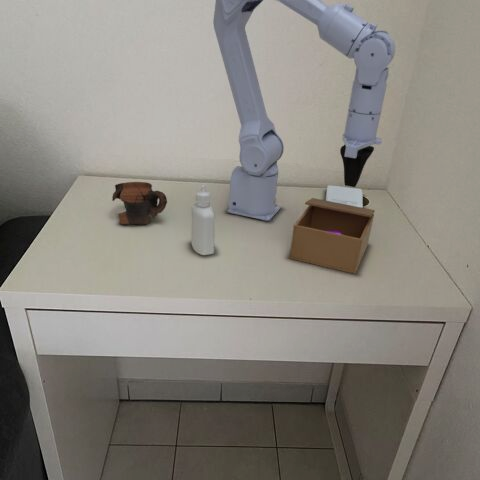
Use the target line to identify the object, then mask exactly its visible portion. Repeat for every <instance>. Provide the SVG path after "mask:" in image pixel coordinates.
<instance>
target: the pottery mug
mask: <svg viewBox="0 0 480 480" xmlns="http://www.w3.org/2000/svg"><path fill="white" fill-rule="evenodd" d="M114 188H115V190H114V191H113V194H112V197H111V198H112V199H111V201H112V202H114V201H115V200H116V199H119V200H120V201H121V202H123V205H124V209H125V211H123V212H118V214H117V216H118V220H119V224H120V225H132V224H133V225H149V224H150V221H149V220H150V216H151V217H152V218H153V219H155V218H156V217H157V216H158V214H161V213H162V212H164V210H165V209H166V207H167V204H168V199H167V196H166V194H165V193H164V192H163V191H160V190H153V185H152V184H151V183H150V182H146V181H128V182H127V181H126V182H121V183H117V184H115V185H114Z"/></svg>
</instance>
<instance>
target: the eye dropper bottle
mask: <svg viewBox="0 0 480 480" xmlns="http://www.w3.org/2000/svg"><path fill="white" fill-rule="evenodd" d="M190 216H191V221H190V223H191V224H190V226H191V247H192V249H193V251H195V252H196V253H197V254H199V255H201V256H208V255H213V254H214V253H215V224H216V222H215V220H216V216H215V212H214V209H213V208H212V206H211V192H209V191H207V187H206V185H205V184H201V185H200V189H199V190H198V191H196V193H195V204H193V205H192V206H191V215H190Z"/></svg>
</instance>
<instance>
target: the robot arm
mask: <svg viewBox="0 0 480 480" xmlns="http://www.w3.org/2000/svg"><path fill="white" fill-rule="evenodd" d="M263 1H264V0H215V4H214V12H213V20H212V22H213V23H212V24H213V29H214V33H215V36H216V40H217V43H218V47H219V50H220V51H219V52H220V55H221V58H222V62H223V65H224V69H225V73H226V76H227V80H228V83H229V86H230V87H229V88H230V90H231V94H232V97H233V100H234V105H235V108H236V112H237V116H238V120H239V122H240V129H239V135H238V143H239V147H240V148H239V157H238V159H239V163H240V166H239V165H237V166H235V167H234V168H233V170H232V172H231V175H230V179H229V194H228V196H229V197H228V209H227V210H226V211H227V213H229V214H232V215H239V216H242V217H246V218H250V219H251V218H252V219H257V220H262V221H264V222H265V221H266V222H269V221H271V220H272V219H273V217H274V216H275V215H276V214H277V213H278V212H279V210H281V208H282V207H281V205H278V204H276V198H277V188H278V179H279V165H278V161H279V160H281V158H282V157H283V154H284V150H285V145H284V142H283V139H282V137H280V135H279V134H278V132H277V130H276V128H275V127H276V126H275V124H274V123H273V122H272V120H271V119H270V118H269V117H268V114H267V111H266V107H265V103H264V98H263V93H262V90H261V86H260V82H259V79H258V74H257V71H256V66H255V63H254V59H253V55H252V51H251V48H250V44H249V43H250V42H249V39H248V35H247V32H246V26H247V24H248V22H249V20H250V18H251V17H252V14H253V12H254V11H255V9H256V8H257V7H259V5H260V4H261V3H262V2H263ZM276 1H277V2H279V3H280V4H283V5H284V6H285V7H287V8H289V9H290V10H292V11H293V12H295V13H296V14H299V15H300V16H301V17H303V18H305V19H306V20H307V21H309V22H311V23H312V24H314V25H315V26H316V27H317V31H318V36H319V39H320V40H322V41H323V42H325V43H326V44H328V45H329V46H330V47H332V48H333V49H335V50H336V51H338V52H339V53H341V54H342V55H344V56H345V57H347V58H348V59H349V60H350V59H351V60H352V59H353V61H354V65H355V67H356V68H355V74H354V80H353V81H352V84H351V90H350V91H351V92H350V97H349V103H348V110H347V114H346V121H345V128H344V133H343V134H342V141H343V143H344V144H343V145H341V147H340V149H339V152H340V156H341V160H342V164H343V181H344V187H349V188H356V187H357V185H358V183H359V181H360V179H361V175H362V173H363V171H364V168H365V165H366V163H367V162H368V159H369V158H370V157H371V156H372V154H373V153H374V151H375V147H374V146H373V145H379V146H380V145H381V144H382V142H383V138H381V137H377V133H378V128H379V125H380V120H381V114H382V110H383V106H384V101H385V95H386V90H387V84H388V83H387V81H388V78H389V70H390V67H389V65H390V64H391V63H392V61H393V59H394V57H395V55H396V44H395V43H396V42H395V40H394V39H393V37H392V36H391V35H390V34H389V32H388V31H386V30H382V29H381V30H377V28H378V24H376V23H375V22H374V21H372V22H371V23H369V22H368V21H366V20H365V19H363V18H362V17H360V16H359V15H358V14H356V13H355V12H354V9H355V7H354V6H353V5H351V4H350V3H346V4H345V5H343V4H342V3H340V2H338V3H335V4H332V5H327V4H326V3H325V2H324V1H322V0H276Z"/></svg>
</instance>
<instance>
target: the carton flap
mask: <svg viewBox="0 0 480 480" xmlns="http://www.w3.org/2000/svg"><path fill="white" fill-rule="evenodd" d="M325 200H326V199H325ZM325 200H324V199H320V198H316V197H315V198H314V197H312V198H310V199H308V200H306V201H305V202H304V205H306V206H309V205H311V206H316V207H321V208H326V209H331V210H336V211H341V212H346V213H351V214H356V215H361V216H366V217H371V216H372V215H373V214H374V213H375V211H376V210H375V209H371V208H366V207H363V208H361V207H356V206H351V205H346V204H341V203H336V202H331V201H325Z"/></svg>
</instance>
